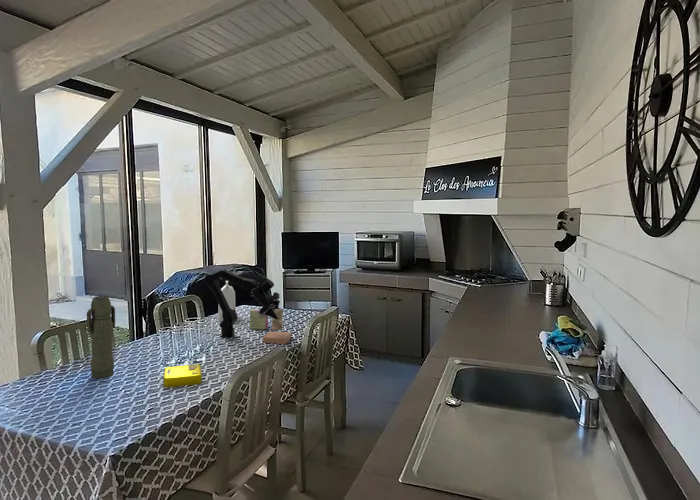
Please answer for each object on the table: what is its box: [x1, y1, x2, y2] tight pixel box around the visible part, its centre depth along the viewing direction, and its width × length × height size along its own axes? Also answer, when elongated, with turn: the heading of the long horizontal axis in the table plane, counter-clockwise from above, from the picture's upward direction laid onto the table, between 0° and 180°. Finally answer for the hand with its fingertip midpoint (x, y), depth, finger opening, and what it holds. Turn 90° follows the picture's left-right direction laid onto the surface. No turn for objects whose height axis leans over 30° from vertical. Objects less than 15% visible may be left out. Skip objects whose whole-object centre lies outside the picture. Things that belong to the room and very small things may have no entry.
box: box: [249, 308, 269, 330], centre depth 280 cm, size 10×6×12 cm, turn 84°
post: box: [271, 308, 284, 331], centre depth 253 cm, size 6×6×11 cm
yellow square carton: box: [163, 363, 202, 388], centre depth 191 cm, size 15×15×5 cm
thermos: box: [86, 295, 116, 380], centre depth 193 cm, size 9×12×35 cm
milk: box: [217, 280, 237, 322], centre depth 304 cm, size 12×12×26 cm
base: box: [262, 331, 292, 345], centre depth 255 cm, size 13×13×3 cm
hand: (279, 317), depth 253 cm, fingers closed on post, 6 cm apart
